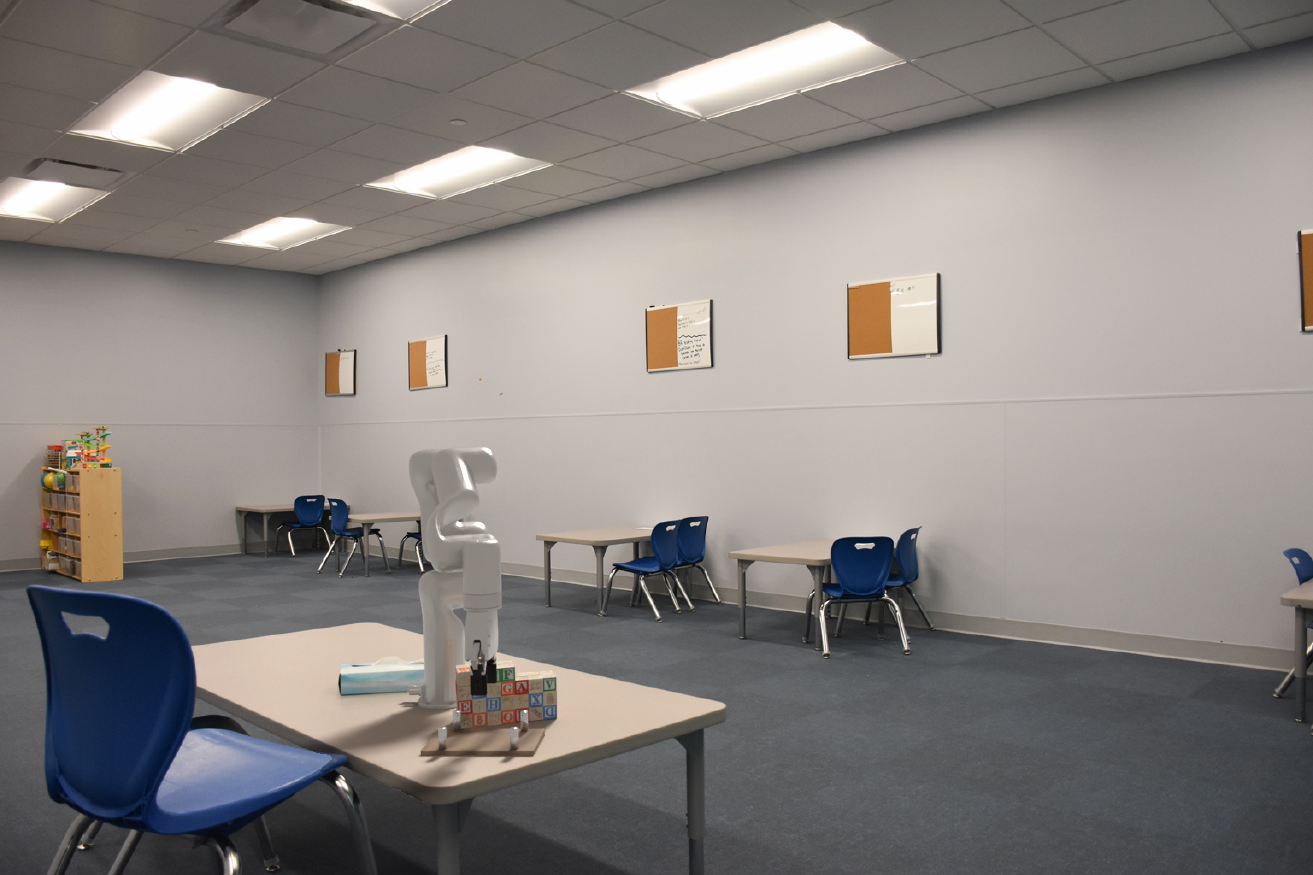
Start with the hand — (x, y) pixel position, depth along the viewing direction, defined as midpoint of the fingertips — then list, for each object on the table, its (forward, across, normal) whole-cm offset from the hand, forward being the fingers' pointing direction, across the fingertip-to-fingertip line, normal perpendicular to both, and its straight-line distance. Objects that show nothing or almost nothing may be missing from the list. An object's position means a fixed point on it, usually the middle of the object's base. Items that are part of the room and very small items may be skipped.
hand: (484, 688), depth 183 cm
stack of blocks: (+12, -18, +1) cm, 21 cm away
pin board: (+12, 0, 0) cm, 12 cm away
